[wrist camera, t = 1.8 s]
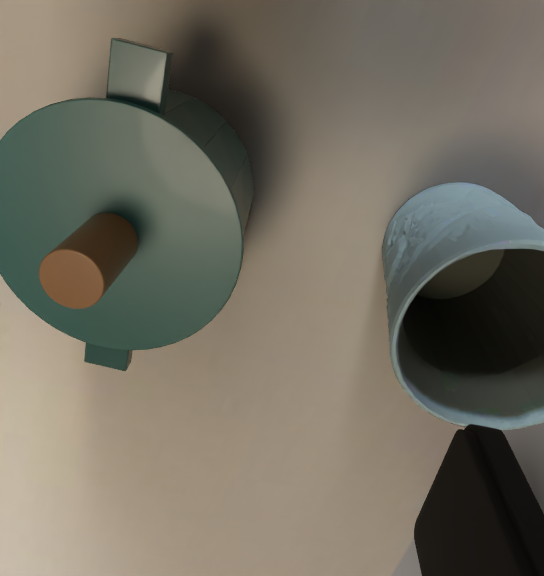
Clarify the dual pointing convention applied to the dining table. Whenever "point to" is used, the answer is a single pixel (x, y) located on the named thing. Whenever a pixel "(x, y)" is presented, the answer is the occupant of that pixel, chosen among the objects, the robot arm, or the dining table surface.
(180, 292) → the pot lid
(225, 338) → the dining table surface
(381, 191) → the dining table surface
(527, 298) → the light blue cup
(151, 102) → the pot
